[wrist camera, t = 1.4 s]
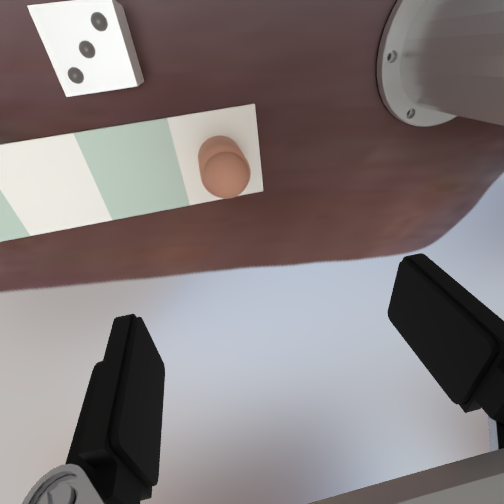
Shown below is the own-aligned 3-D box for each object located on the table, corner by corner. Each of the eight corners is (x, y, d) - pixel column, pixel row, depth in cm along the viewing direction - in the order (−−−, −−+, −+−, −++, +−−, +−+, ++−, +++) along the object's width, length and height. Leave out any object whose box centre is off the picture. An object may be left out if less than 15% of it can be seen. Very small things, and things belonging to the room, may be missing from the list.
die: (122, 6, 20) (109, -6, 16) (144, 81, 23) (136, 86, 19) (55, 15, 20) (24, 4, 16) (85, 90, 22) (64, 97, 18)
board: (254, 103, 25) (254, 103, 25) (262, 189, 30) (263, 191, 29) (-130, 165, 22) (-134, 166, 22) (-54, 250, 27) (-56, 252, 26)
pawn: (238, 132, 26) (252, 151, 20) (244, 175, 28) (258, 203, 23) (193, 139, 25) (196, 161, 20) (203, 182, 28) (207, 212, 22)
